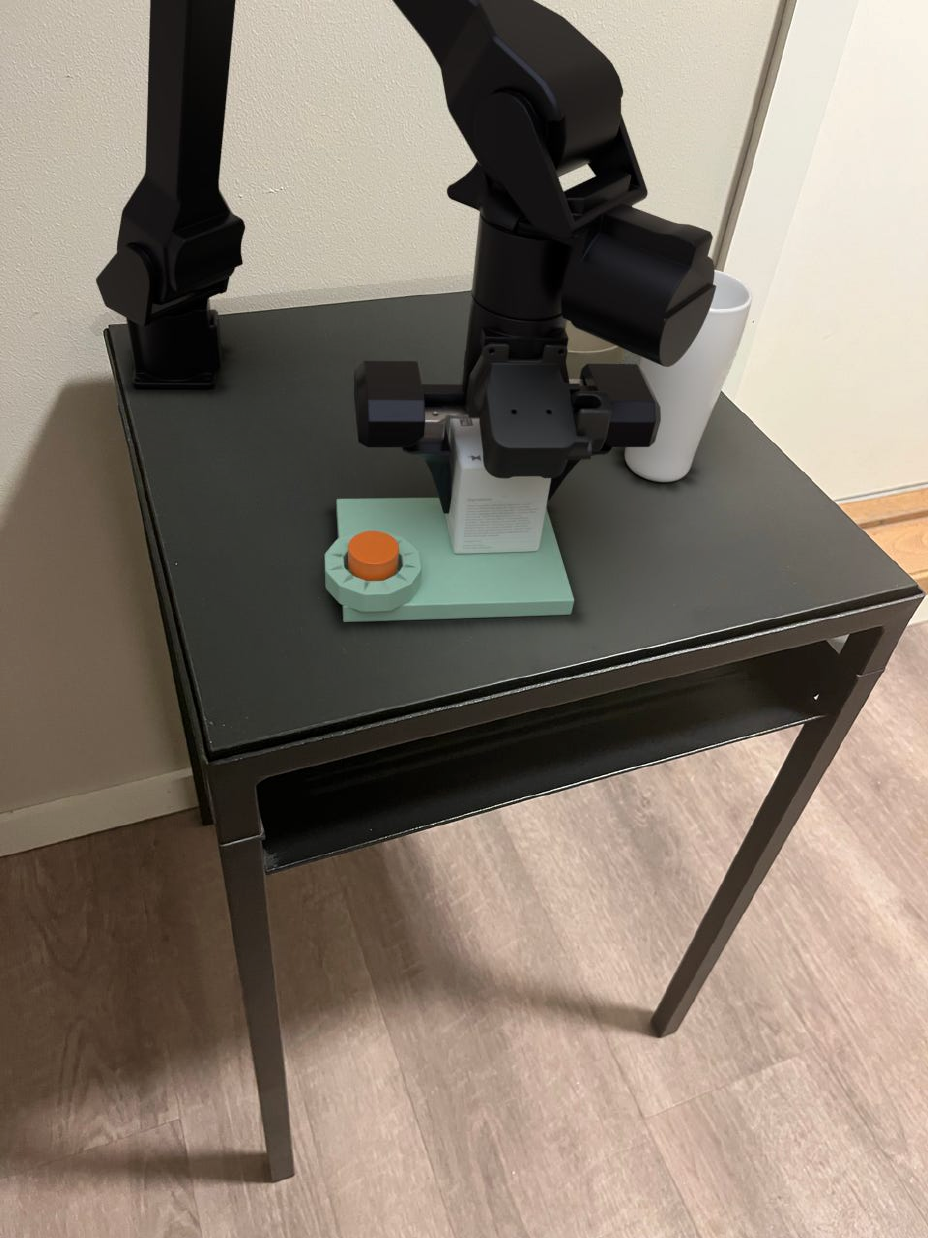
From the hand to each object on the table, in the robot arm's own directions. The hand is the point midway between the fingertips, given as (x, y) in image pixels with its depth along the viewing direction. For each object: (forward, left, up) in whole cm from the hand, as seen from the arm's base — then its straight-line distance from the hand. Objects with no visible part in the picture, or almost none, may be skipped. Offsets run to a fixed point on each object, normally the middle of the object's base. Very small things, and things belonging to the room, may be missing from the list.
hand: (490, 509), depth 67 cm
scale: (-3, -2, -3) cm, 5 cm away
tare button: (-8, -5, 0) cm, 10 cm away
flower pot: (+9, +19, -3) cm, 21 cm away
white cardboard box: (0, 0, -2) cm, 2 cm away
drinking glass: (+15, +9, -3) cm, 18 cm away
